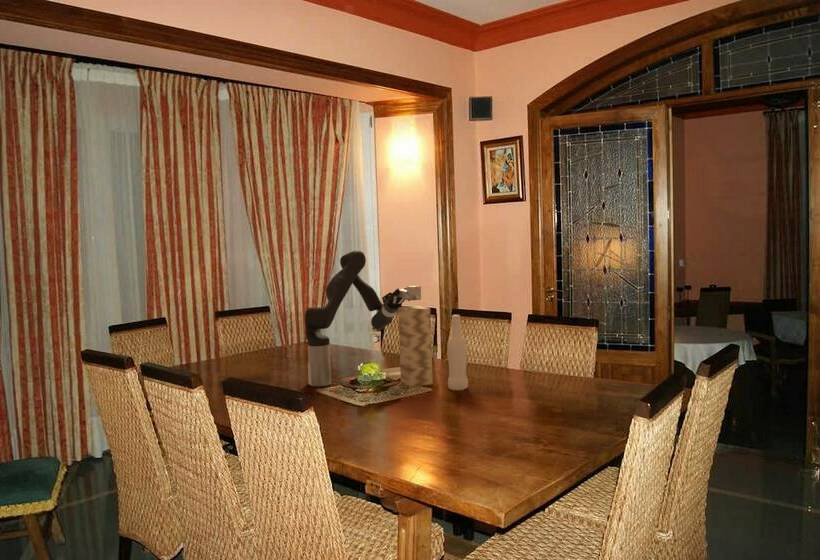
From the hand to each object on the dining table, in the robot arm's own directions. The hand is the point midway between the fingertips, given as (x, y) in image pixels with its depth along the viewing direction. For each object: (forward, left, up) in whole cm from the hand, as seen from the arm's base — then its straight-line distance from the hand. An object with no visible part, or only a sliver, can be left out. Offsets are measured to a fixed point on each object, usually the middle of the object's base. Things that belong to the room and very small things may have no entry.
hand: (402, 290), depth 283 cm
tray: (-3, +3, -39) cm, 39 cm away
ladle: (0, -6, -3) cm, 6 cm away
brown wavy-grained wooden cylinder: (0, -13, -39) cm, 41 cm away
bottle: (+11, -30, -39) cm, 50 cm away
